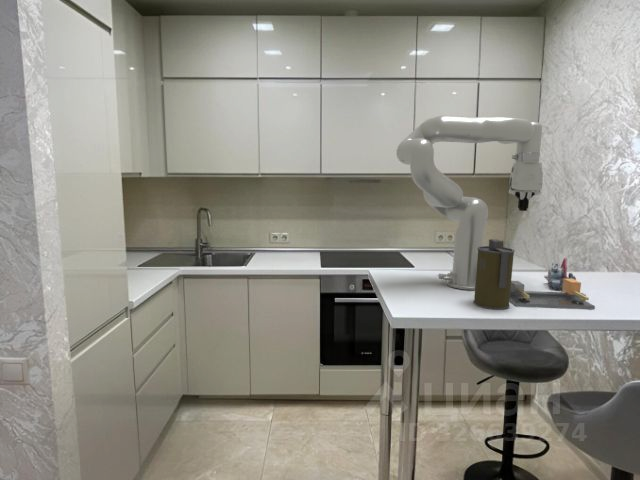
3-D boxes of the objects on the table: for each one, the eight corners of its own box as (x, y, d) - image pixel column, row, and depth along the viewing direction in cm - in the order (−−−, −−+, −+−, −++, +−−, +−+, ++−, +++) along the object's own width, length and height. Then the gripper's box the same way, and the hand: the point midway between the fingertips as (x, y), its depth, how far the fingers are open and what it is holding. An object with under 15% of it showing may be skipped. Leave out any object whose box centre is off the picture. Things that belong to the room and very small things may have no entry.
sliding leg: (581, 303, 128) (583, 288, 128) (561, 292, 140) (563, 278, 140) (591, 304, 128) (593, 288, 128) (571, 293, 140) (572, 278, 139)
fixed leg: (522, 301, 130) (523, 290, 129) (508, 291, 141) (508, 280, 141) (532, 302, 129) (533, 290, 129) (517, 291, 141) (518, 280, 141)
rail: (508, 298, 138) (509, 292, 138) (506, 296, 140) (506, 290, 140) (585, 300, 136) (586, 294, 136) (581, 298, 139) (582, 292, 139)
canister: (467, 299, 136) (472, 237, 133) (499, 299, 137) (504, 237, 133) (483, 310, 125) (488, 243, 122) (517, 310, 126) (523, 243, 123)
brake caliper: (588, 287, 144) (566, 258, 145) (557, 303, 148) (536, 274, 149) (580, 279, 155) (560, 252, 156) (551, 295, 159) (532, 268, 160)
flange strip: (516, 306, 129) (516, 302, 129) (508, 300, 135) (509, 297, 135) (594, 309, 128) (595, 305, 128) (583, 303, 134) (584, 299, 134)
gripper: (509, 158, 147) (505, 211, 150) (554, 158, 146) (548, 212, 149) (502, 158, 155) (497, 209, 157) (544, 159, 154) (539, 210, 156)
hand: (522, 210), depth 153 cm, fingers closed
